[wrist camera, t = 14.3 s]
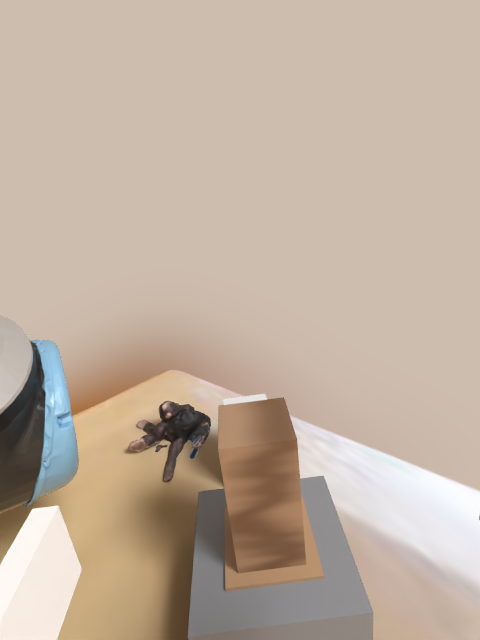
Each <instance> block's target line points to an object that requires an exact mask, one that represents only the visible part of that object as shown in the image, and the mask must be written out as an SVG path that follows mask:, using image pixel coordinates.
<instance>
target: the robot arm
mask: <svg viewBox="0 0 480 640" xmlns="http://www.w3.org/2000/svg"><path fill="white" fill-rule="evenodd" d="M71 413H72V412H71V408H70V399H69V393H68V388H67V383H66V378H65V374H64V369H63V365H62V361H61V357H60V353H59V350H58V347H57V345H56V344H55V343H54V342H52V341H49V340H43V341H40V340H33V341H30V340H29V339H28V337H27V336H26V334H25V332H24V331H23V329H22V328H21V327H20V326H19V325H17V324H16V323H15V322H13V321H12V320H10V319H8V318H6V317H3V316H1V315H0V514H2V513H4V512H6V511H9V510H11V509H14V508H16V507H19V506H21V505H23V506H28V505H31V504H33V503H35V502H36V500H37V499H38V498H40V497H42V496H45V495H47V494H49V493H51V492H53V491H55V490H57V489H59V488H62V487H64V486H65V485H67V484H68V483H69V482H70V481H71V480H72V479H73V478H74V476H75V474H76V472H77V469H78V463H79V458H78V448H77V440H76V434H75V428H74V423H73V418H72V417H71ZM479 520H480V516H479ZM81 570H82V568H81V566H80V563H79V560H78V558H77V555H76V552H75V550H74V547H73V544H72V541H71V539H70V536H69V533H68V531H67V528H66V525H65V523H64V520H63V517H62V514H61V512H60V509H59V506H51V507H43V508H35V509H32V510H31V512H30V514H29V516H28V517H27V519H26V521H25V523H24V524H23V526H22V528H21V530H20V531H19V533H18V535H17V537H16V538H15V540H14V542H13V543H12V545H11V547H10V549H9V550H8V552H7V554H6V556H5V557H4V559H3V561H2V563H1V564H0V640H57V638H58V635H59V632H60V629H61V627H62V624H63V621H64V618H65V615H66V613H67V610H68V607H69V604H70V601H71V598H72V596H73V593H74V590H75V587H76V584H77V582H78V579H79V576H80V573H81Z"/></svg>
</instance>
